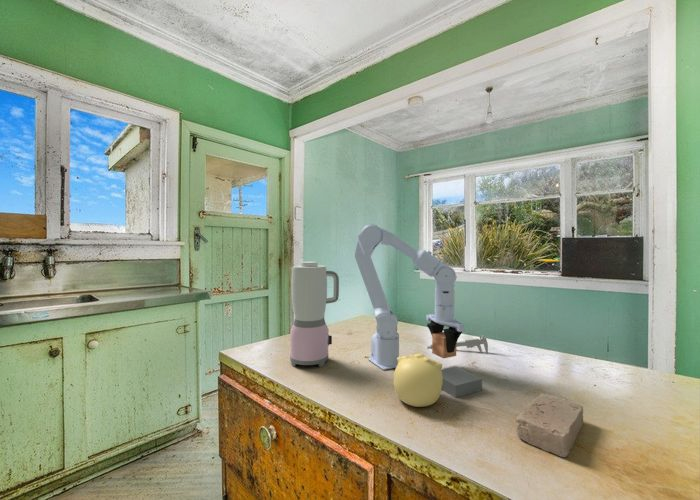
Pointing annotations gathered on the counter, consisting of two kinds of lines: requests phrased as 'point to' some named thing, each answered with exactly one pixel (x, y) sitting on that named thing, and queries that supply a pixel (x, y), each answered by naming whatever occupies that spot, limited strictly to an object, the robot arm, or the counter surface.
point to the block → (441, 346)
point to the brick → (551, 424)
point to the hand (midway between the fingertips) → (443, 349)
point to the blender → (310, 313)
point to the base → (460, 382)
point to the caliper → (472, 343)
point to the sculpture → (418, 380)
